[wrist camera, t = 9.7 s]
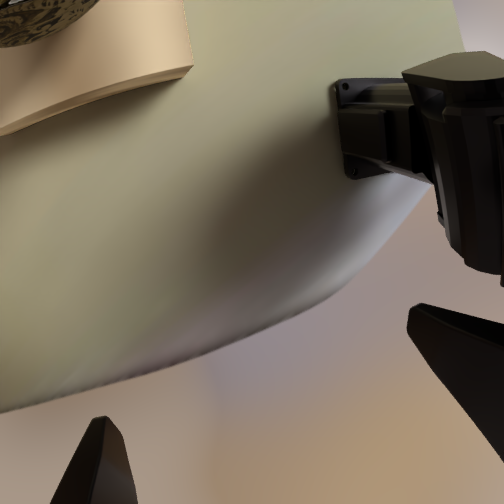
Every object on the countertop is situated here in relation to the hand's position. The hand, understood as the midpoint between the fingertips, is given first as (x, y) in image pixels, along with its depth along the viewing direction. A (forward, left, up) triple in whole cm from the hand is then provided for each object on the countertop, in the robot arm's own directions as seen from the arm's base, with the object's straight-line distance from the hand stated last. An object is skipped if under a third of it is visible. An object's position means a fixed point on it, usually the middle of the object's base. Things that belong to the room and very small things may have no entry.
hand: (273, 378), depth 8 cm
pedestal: (+4, -14, -12) cm, 18 cm away
